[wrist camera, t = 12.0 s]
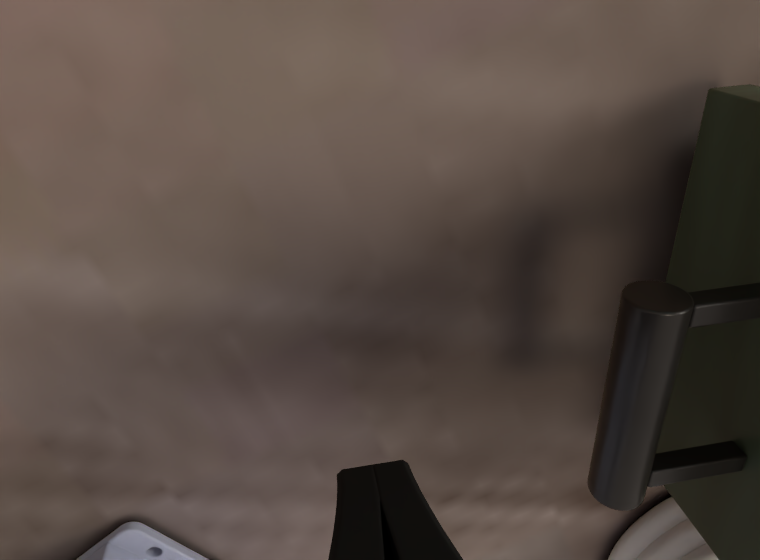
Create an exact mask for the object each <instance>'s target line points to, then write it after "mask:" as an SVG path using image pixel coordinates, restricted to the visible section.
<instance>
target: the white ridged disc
mask: <svg viewBox="0 0 760 560" xmlns="http://www.w3.org/2000/svg"><path fill="white" fill-rule="evenodd" d="M608 560H719V559H718V558H717V556H716V555H715V554H714V552H713V551H712V550H711V548H710V547H709V546H708V544H707V543H706V542H705V540H704V539H703V538H702V536H701V535H700V534H699V532H698V531H697V530H696V528H695V527H694V526H693V524H692V523H691V522H690V520H689V519H688V517H687V516H686V515H685V513H684V512H683V511H682V509H681V508H680V507H679V505H678V504H677V503H676V501H675V500H674V499H673V497H670V498H668V499H666V500H664V501H663V502H661V503H659V504H658V505H656V506H655V507H653V508H652V509H650V510H649V511H648V512H646V513H645V514H644V515H643V516H641V517H640V518H639V519H638V520H637V521H636V522H634V523H633V524H632V525H631V526H630V527H629V528H628V529H627V531H626V532H625V533H624V534H623V535H622V536H621V538H620V539H619V540H618V542H617V543H616V544H615V546H614V548H613V550H612V551H611V553H610V556H609V558H608Z"/></svg>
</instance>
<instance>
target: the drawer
mask: <svg viewBox="0 0 760 560" xmlns="http://www.w3.org/2000/svg"><path fill="white" fill-rule="evenodd" d="M660 485H664V487H665V488H666V489H667V491H668V492H669V493H670V495H671V496H672V497H673V499H674V500H675V501H676V503H677V504H678V505H679V507H680V508H681V509H682V511H683V512H684V513H685V515H686V516H687V517H688V519H689V520H690V522H691V523H692V524H693V526H694V527H695V528H696V530H697V531H698V532H699V534H700V535H701V536H702V538H703V539H704V540H705V542H706V543H707V544H708V546H709V547H710V548H711V550H712V551H713V552H714V554H715V555H716V556H717V558H718V559H719V560H760V87H759V86H754V85H740V86H729V87H719V88H711V89H709V90H708V94H707V99H706V103H705V108H704V112H703V117H702V121H701V126H700V130H699V135H698V139H697V144H696V148H695V153H694V157H693V161H692V166H691V170H690V175H689V179H688V184H687V188H686V193H685V197H684V202H683V206H682V211H681V215H680V219H679V224H678V228H677V233H676V237H675V242H674V246H673V251H672V255H671V260H670V264H669V269H668V273H667V278H666V282H661V281H653V280H643V281H636V282H632V283H630V284H628V285H627V286H625V288H624V289H623V290H622V294H621V299H620V305H619V310H618V316H617V321H616V327H615V332H614V338H613V343H612V349H611V354H610V360H609V365H608V371H607V376H606V382H605V387H604V393H603V398H602V404H601V409H600V415H599V420H598V426H597V431H596V437H595V442H594V448H593V453H592V459H591V464H590V470H589V475H588V487H589V490H590V492H591V494H592V495H593V497H594V498H595V499H596V500H597V501H599V502H600V503H601V504H603V505H605V506H607V507H609V508H611V509H615V510H621V511H627V510H632V509H635V508H637V507H638V506H639V505H641V503H642V502H643V500H644V497H645V493H646V489H647V486H648V487H654V486H660Z"/></svg>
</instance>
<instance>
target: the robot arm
mask: <svg viewBox="0 0 760 560" xmlns="http://www.w3.org/2000/svg"><path fill="white" fill-rule="evenodd" d="M76 560H209V559H207V558H206V557H204V556H202V555H200V554H198V553H196V552H194V551H193V550H191V549H189V548H187V547H185V546H183V545H182V544H180V543H178V542H176V541H174V540H172V539H170V538H169V537H167V536H165V535H163V534H161V533H159V532H158V531H156V530H154V529H152V528H150V527H148V526H146V525H145V524H143V523H140V522H134V521H132V522H127V523H125V524H123V525H121V526H120V527H118V528H117V529H116V530H114V531H113V532H112V533H110V534H109V535H108V536H106V537H105V538H104V539H102V540H101V541H100V542H99V543H97V544H96V545H95V546H93V547H92V548H91V549H89V550H88V551H87V552H85V553H84V554H83V555H81V556H80V557H79V558H77V559H76ZM328 560H463V559H462V557H461V556H460V554H459V553H458V551H457V550H456V548H455V547H454V545H453V544H452V542H451V540H450V539H449V537H448V536H447V534H446V533H445V531H444V530H443V528H442V527H441V525H440V523H439V522H438V520H437V518H436V517H435V515H434V513H433V512H432V510H431V508H430V506H429V505H428V503H427V501H426V499H425V497H424V496H423V494H422V492H421V490H420V488H419V486H418V484H417V482H416V480H415V478H414V476H413V474H412V471H411V469H410V467H409V464H408V463H407V462H405V461H404V460H398V461H392V462H386V463H380V464H374V465H367V466H361V467H355V468H349V469H343V470H341V471H340V472H339V473H338V474H337V506H336V516H335V524H334V531H333V538H332V543H331V549H330V554H329V559H328Z"/></svg>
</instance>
